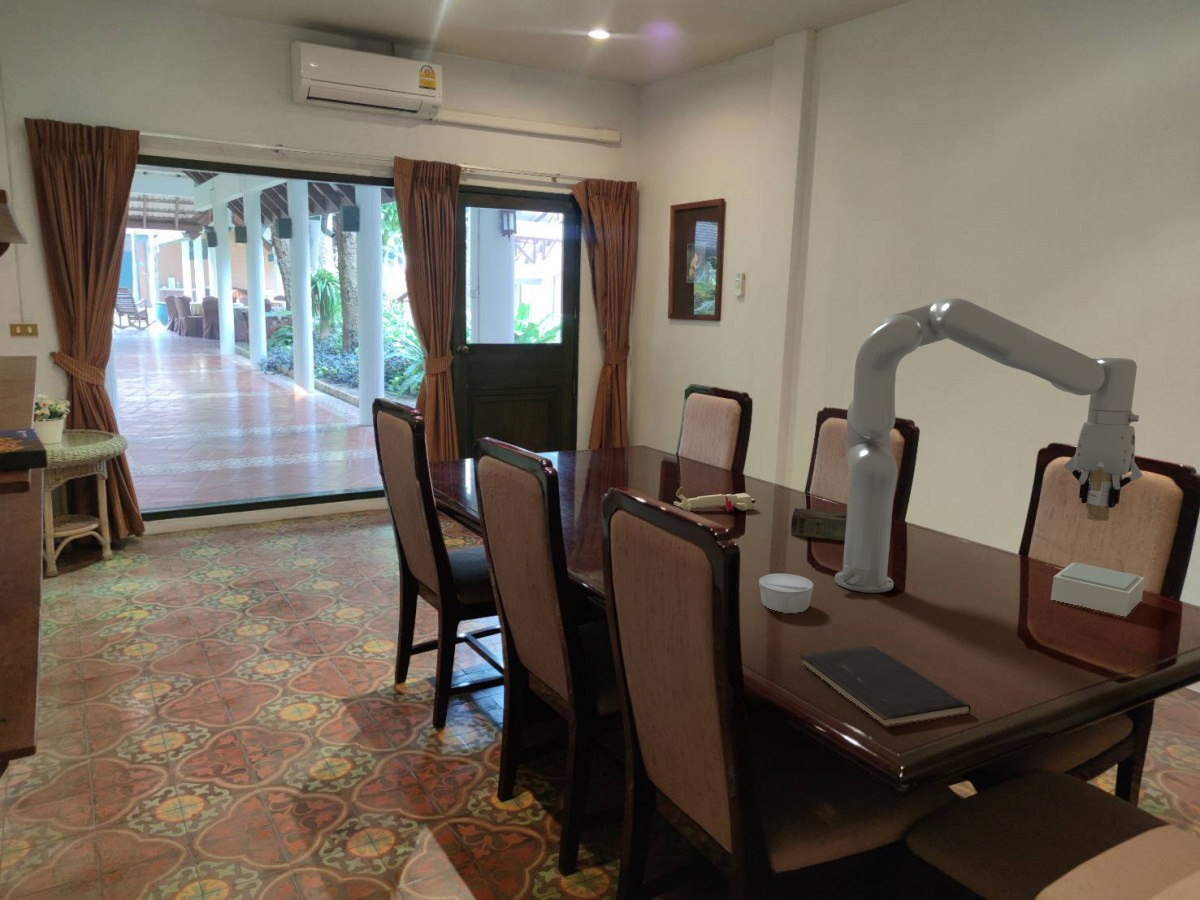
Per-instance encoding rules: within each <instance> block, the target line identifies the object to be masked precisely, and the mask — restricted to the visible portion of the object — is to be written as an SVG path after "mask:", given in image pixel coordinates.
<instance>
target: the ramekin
mask: <svg viewBox="0 0 1200 900" xmlns="http://www.w3.org/2000/svg"><path fill="white" fill-rule="evenodd" d="M814 585H815V584H814V583H813V581H811V579H808V578H807V577H804V576H800V575H797V574H791V573H781V572H780V573H777V572H776V573H769V574H766V575H763V576H761V577H760V578H759V579H758V586H759V590H760V592H759V593H760V599H761V600H760V601H761V603H762V605H763V607H765V606H766V607H767V608H766V607H765V608H766V609H768V608H769V609H772V610H775V611H779V612H783V613H782V614H788V613H793V614H799V613H798V612H801V613H803V612H805V611H806V610H807V609H808V608H809V607H810V603H811V598H812V594H813V591H814V589H815V586H814ZM769 609H768V610H769ZM772 610H771V611H772ZM775 611H774V612H775ZM779 612H778V613H779Z"/></svg>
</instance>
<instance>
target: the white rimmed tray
mask: <svg viewBox="0 0 1200 900" xmlns="http://www.w3.org/2000/svg"><path fill="white" fill-rule="evenodd" d="M1144 584H1145V577H1143V576H1139V575H1137V574H1134V573H1130V572H1129V573H1128V572H1124V571H1118V570H1114V569H1110V568H1106V567H1105V568H1104V567H1099V566H1095V565H1091V564H1086V563H1080V562H1071V563H1070V564H1069V565H1067V566H1066V567H1065V568H1063V569H1062V570H1061V571H1059V572H1057V573H1056V574H1055V575H1054V576H1053V579H1052V588H1051V593H1050V594H1051V595H1050V601H1051V600H1056V601H1060V602H1064V603H1069V604H1073V605H1079V606H1083V607H1087V608H1091V609H1095V610H1100V611H1104V612H1109V613H1113V614H1116V615H1120V616H1125V617H1126V616H1127V615H1128V614H1129V613H1130V612H1131V610H1132V609H1133V608H1134V607H1135V606H1136V605H1137V604H1138V603H1139V602H1140V601H1141V602H1142V600H1143V593H1144ZM1131 613H1132V612H1131Z"/></svg>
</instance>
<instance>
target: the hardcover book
mask: <svg viewBox="0 0 1200 900" xmlns="http://www.w3.org/2000/svg"><path fill="white" fill-rule="evenodd" d="M799 657H800V658H801V659H802V663H803V664H805V665H806V666H807V667H809V668H810V669H811V670H812V671H813V672H815V673H816V674H817V675H819V676H820V677H821V678H822V679H824V680H825V681H826V682H827V683H829V684H830V685H831V686H832V687H833V688H834V689H833V688H832V687H831V686H830V687H831V688H832V689H833V690H835V689H836V690H837V691H838V692H837V691H836V690H835V691H836V692H837V693H838V694H840V693H841V694H842V695H844V696H845V697H846V698H848V699H849V700H850V701H852V702H853V703H855V704H856V705H858V706H859V707H860V708H862V709H863V710H865V711H866V712H868V713H869V714H870V715H872V716H873V717H874V718H876V719H877V720H879V721H880V722H881V723H883V724H884V725H890V724H895V723H903V722H909V721H916V720H923V719H928V718H934V717H939V716H946V715H952V714H958V713H963V712H970V713H971V705H970V704H969V703H967V702H966V701H964V700H963V699H961V698H960V697H958V696H957V695H955V694H953V693H952V692H950V691H948V690H947V689H945V688H944V687H942V686H941V685H939V684H937V683H936V682H934V681H932V680H931V679H930V678H928V677H926V676H925V675H923V674H921V673H920V672H919V671H916V670H915V669H914V668H912V667H910V666H909V665H907V664H906V663H904V662H903V661H901V660H899V659H897V657H895V656H893V655H891V654H890V653H888V652H887V651H884V650H883V649H882V648H881V647H879V646H877V645H875V644H874V645H867V646H859V647H853V648H844V649H838V650H837V649H836V650H830V651H822V652H816V653H815V652H813V653H807V654H800V656H799ZM803 664H802V665H803ZM822 679H821V680H822ZM827 683H826V684H827ZM841 694H840V695H841ZM842 695H841V696H842ZM844 696H843V697H844ZM845 697H844V698H845ZM846 698H845V699H846ZM848 699H847V700H848ZM849 700H848V701H849ZM850 701H849V702H850ZM852 702H851V703H852ZM853 703H852V704H853Z"/></svg>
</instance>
